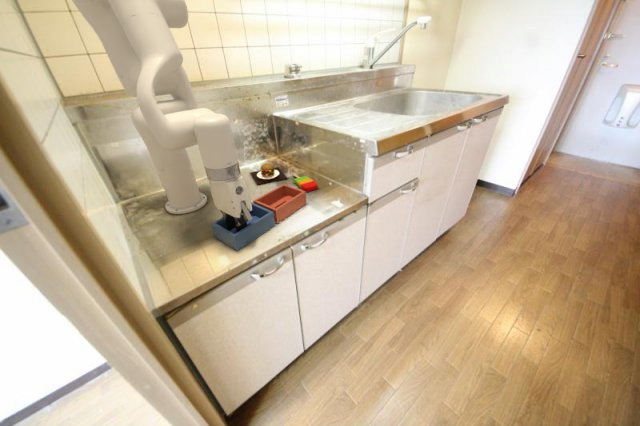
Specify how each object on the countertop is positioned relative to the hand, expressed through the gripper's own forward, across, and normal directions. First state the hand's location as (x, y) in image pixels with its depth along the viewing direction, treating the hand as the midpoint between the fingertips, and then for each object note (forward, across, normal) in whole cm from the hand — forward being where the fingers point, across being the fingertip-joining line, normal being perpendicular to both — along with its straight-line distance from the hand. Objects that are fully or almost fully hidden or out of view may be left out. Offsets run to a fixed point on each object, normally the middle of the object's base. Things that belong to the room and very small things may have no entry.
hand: (238, 232), depth 69 cm
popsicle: (+2, +6, -35) cm, 36 cm away
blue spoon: (+1, 0, -2) cm, 3 cm away
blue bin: (+1, 0, -2) cm, 3 cm away
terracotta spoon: (+1, 0, -17) cm, 17 cm away
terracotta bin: (+1, 0, -17) cm, 17 cm away
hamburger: (+2, +21, -32) cm, 38 cm away
